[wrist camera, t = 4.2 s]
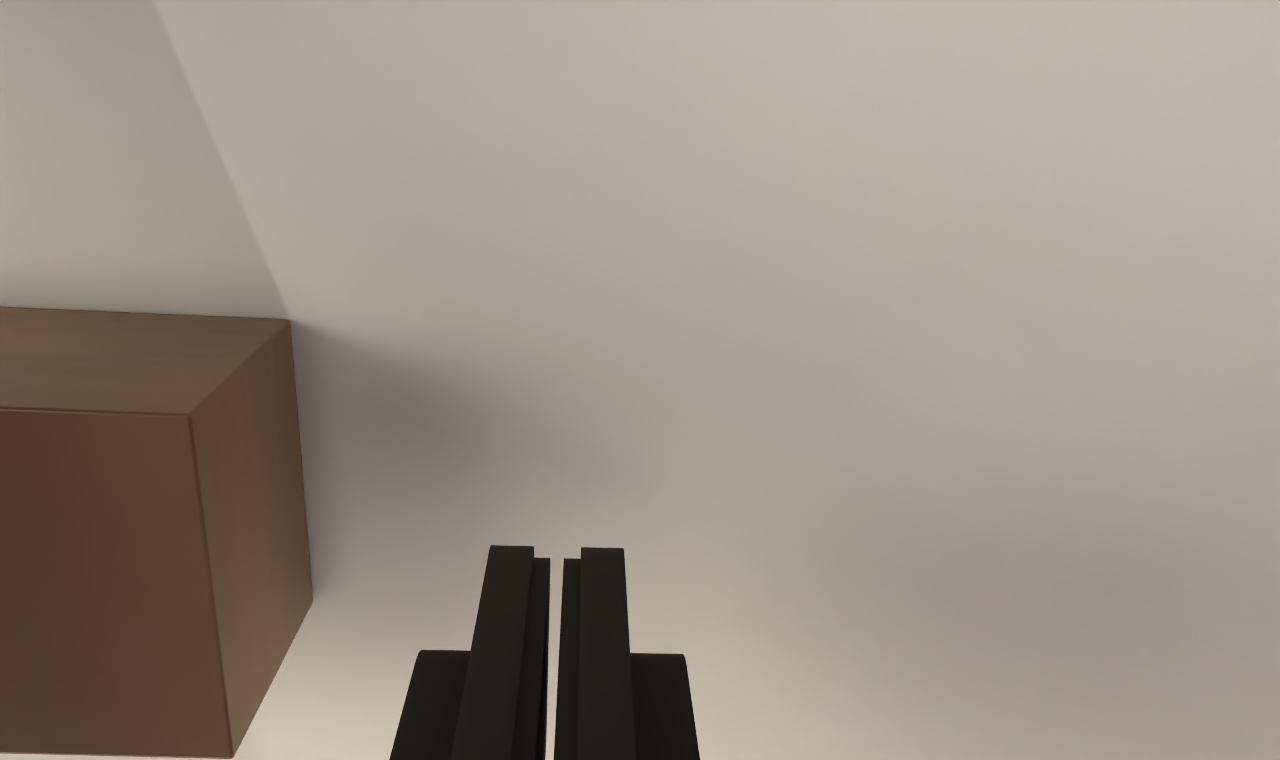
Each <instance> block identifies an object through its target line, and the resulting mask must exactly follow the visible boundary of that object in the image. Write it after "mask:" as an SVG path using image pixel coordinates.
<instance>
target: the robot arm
mask: <svg viewBox="0 0 1280 760" xmlns="http://www.w3.org/2000/svg"><path fill="white" fill-rule="evenodd" d="M549 600H550V558H534V546H498V545H491V546H490V550H489V555H488V560H487V566H486V571H485V576H484V582H483V587H482V592H481V598H480V603H479V609H478V614H477V619H476V625H475V630H474V635H473V641H472V646H471V651H454V650H421V651H420V652H419V653H418V656H417V659H416V662H415V666H414V669H413V673H412V677H411V681H410V684H409V688H408V692H407V696H406V699H405V703H404V707H403V711H402V714H401V718H400V722H399V726H398V730H397V733H396V737H395V741H394V745H393V748H392V752H391V756H390V760H545V753H546V727H547V685H548V642H549ZM554 760H700V757H699V750H698V743H697V736H696V729H695V721H694V714H693V707H692V700H691V693H690V686H689V679H688V672H687V665H686V660H685V657H684V655H683V654H649V653H630V646H629V628H628V611H627V594H626V576H625V559H624V549H623V548H588V547H581V559H566V558H564V568H563V588H562V608H561V628H560V648H559V668H558V688H557V708H556V728H555V748H554Z"/></svg>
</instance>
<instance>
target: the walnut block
mask: <svg viewBox="0 0 1280 760" xmlns="http://www.w3.org/2000/svg"><path fill="white" fill-rule="evenodd" d="M312 602H313V598H312V585H311V573H310V561H309V549H308V536H307V524H306V512H305V499H304V487H303V475H302V463H301V450H300V438H299V426H298V413H297V401H296V389H295V376H294V364H293V352H292V340H291V327H290V321H289V320H280V319H257V318H234V317H211V316H189V315H166V314H143V313H120V312H97V311H74V310H51V309H28V308H6V307H0V753H9V754H50V755H92V756H134V757H175V758H217V759H231V758H233V757H234V755H235V753H236V751H237V749H238V748H239V746H240V744H241V742H242V740H243V738H244V736H245V734H246V732H247V730H248V728H249V726H250V724H251V722H252V720H253V718H254V716H255V714H256V712H257V710H258V708H259V706H260V704H261V702H262V700H263V698H264V697H265V695H266V693H267V691H268V689H269V687H270V685H271V683H272V681H273V679H274V677H275V675H276V673H277V671H278V669H279V667H280V665H281V663H282V661H283V659H284V657H285V655H286V653H287V651H288V649H289V647H290V646H291V644H292V642H293V640H294V638H295V636H296V634H297V632H298V630H299V628H300V626H301V624H302V622H303V620H304V618H305V616H306V614H307V612H308V610H309V608H310V606H311V604H312Z"/></svg>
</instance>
